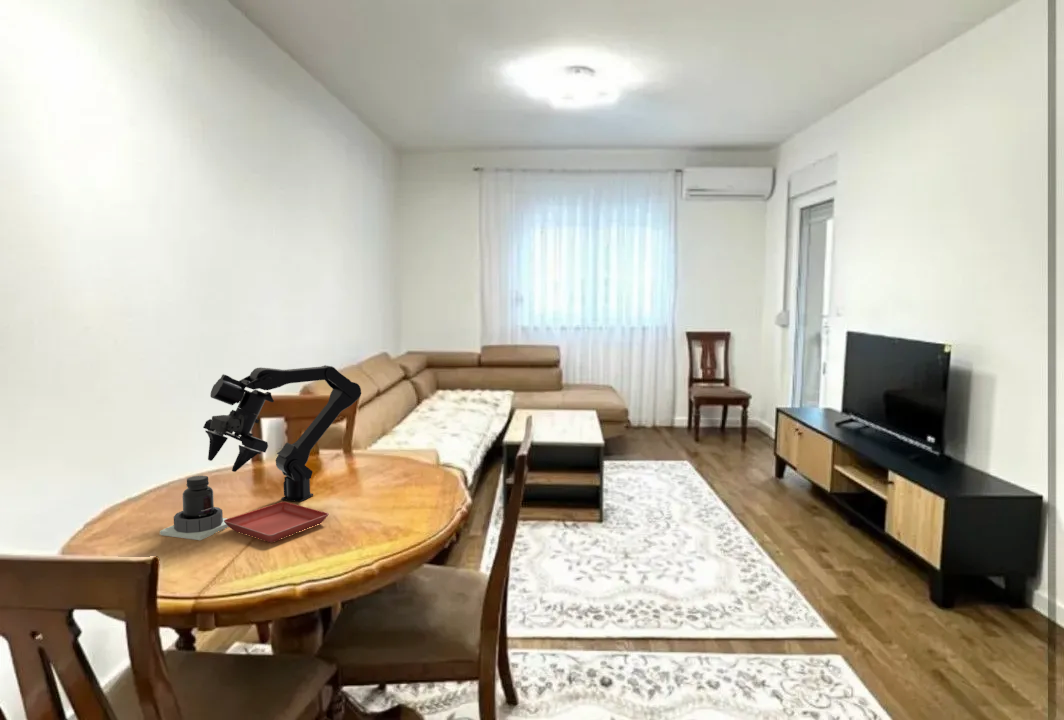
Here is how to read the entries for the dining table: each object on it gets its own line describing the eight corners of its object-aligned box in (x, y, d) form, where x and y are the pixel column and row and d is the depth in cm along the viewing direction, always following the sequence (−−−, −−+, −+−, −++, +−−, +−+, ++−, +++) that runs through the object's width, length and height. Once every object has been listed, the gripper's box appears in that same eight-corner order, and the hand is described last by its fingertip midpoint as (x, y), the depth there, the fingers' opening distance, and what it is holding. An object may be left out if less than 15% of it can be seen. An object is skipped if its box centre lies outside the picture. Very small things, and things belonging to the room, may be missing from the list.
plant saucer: (330, 525, 166) (330, 512, 166) (270, 548, 151) (269, 534, 150) (283, 512, 175) (283, 500, 175) (222, 533, 160) (221, 520, 160)
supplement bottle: (209, 529, 159) (206, 481, 158) (179, 530, 158) (176, 482, 157) (218, 519, 166) (216, 473, 164) (189, 520, 165) (187, 474, 164)
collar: (231, 520, 165) (231, 508, 165) (200, 534, 155) (199, 522, 155) (197, 516, 168) (197, 504, 168) (164, 530, 158) (164, 518, 158)
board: (236, 523, 166) (236, 519, 166) (200, 540, 154) (200, 536, 154) (197, 518, 169) (197, 514, 169) (159, 534, 158) (159, 530, 158)
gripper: (201, 393, 172) (173, 448, 169) (251, 413, 165) (223, 472, 161) (232, 404, 182) (206, 457, 179) (280, 424, 175) (254, 479, 171)
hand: (221, 465), depth 172 cm, fingers open, 9 cm apart
